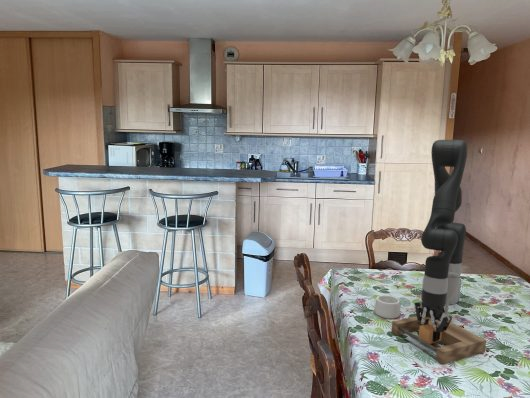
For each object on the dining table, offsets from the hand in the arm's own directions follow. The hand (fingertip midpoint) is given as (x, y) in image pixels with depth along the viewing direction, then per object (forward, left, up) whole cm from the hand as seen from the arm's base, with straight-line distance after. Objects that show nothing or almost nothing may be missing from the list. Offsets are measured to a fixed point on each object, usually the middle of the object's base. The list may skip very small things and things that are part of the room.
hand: (429, 337), depth 138 cm
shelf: (-3, 0, -2) cm, 4 cm away
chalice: (-19, -10, -2) cm, 21 cm away
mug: (-4, -24, -2) cm, 24 cm away
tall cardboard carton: (0, 0, -1) cm, 1 cm away
